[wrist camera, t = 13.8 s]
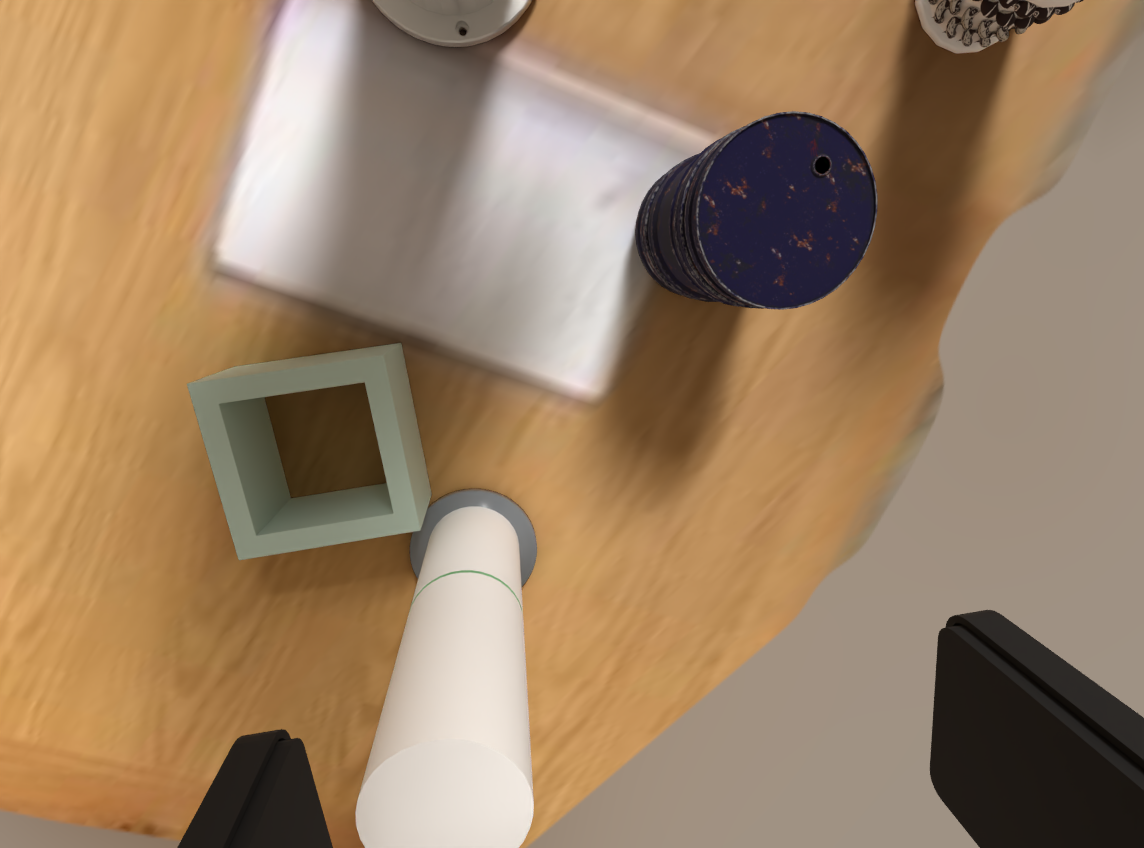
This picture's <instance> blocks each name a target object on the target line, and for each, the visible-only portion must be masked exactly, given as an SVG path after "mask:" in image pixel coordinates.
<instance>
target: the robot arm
mask: <svg viewBox="0 0 1144 848" xmlns="http://www.w3.org/2000/svg"><path fill="white" fill-rule="evenodd" d="M372 1H373V3H374V4H375V5H376V6H377V8H378V9H379V10H380V11H381V13H382V14H383V15H384V16H385V17H387V18H388V19H389V20H390V21H391V22H392V23H393V24H395V25H396V26H397V27H398V28H400V29H401V30H403V31H405V32H406V33H408V34H410V35H411V36H413V37H415V38H417V39H420V40H422V41H425V42H428V43H431V44H433V45H440V46H447V47H465V46H472V45H476V44H480V43H483V42H487V41H489V40H491V39H493V38H495V37H496V36H498V35H500V34H502V33H504V32H505V31H506V30H507V29H508V28H510V27H511V26H512V25H513V24H514V23H516V22H517V21H518V20H519V18H520V17H521V16H522V14H523V13H524V12H525V11H526V9H527V8H528V7H529V5H530V3H531V1H532V0H372ZM462 29H463V30H466V31H467V34H466V35H465V36H461V35H460V34H459V32H460V30H462ZM930 775H931V780H932V783H933V785H934V788H935V790H936V792H937V794H938V795H939V797H940V798H941V799H942V801H943V802H944V803H945V805H946V806H947V807H948V808H949V810H950V811H951V812H952V814H953V815H954V816H955V817H956V819H957V820H958V821H959V822H960V824H961V825H962V826H963V827H964V828H965V830H966V831H967V832H968V833H969V835H970V836H971V837H972V838H973V840H974V841H975V842H976V843H977V845H978V846H979V847H980V848H1144V718H1143V717H1142V716H1140V715H1139V714H1138V713H1136V712H1135V711H1134V710H1132V709H1131V708H1129V707H1128V706H1127V705H1125V704H1124V703H1122V702H1121V701H1120V700H1118V699H1117V698H1116V697H1114V696H1113V695H1111V694H1110V693H1109V692H1107V691H1106V690H1104V689H1103V688H1102V687H1100V686H1099V685H1098V684H1096V683H1095V682H1094V681H1092V680H1091V679H1089V678H1088V677H1087V676H1085V675H1084V674H1082V673H1081V672H1080V671H1078V670H1077V669H1076V668H1074V667H1073V666H1071V665H1070V664H1068V663H1067V662H1066V661H1065V660H1063V659H1062V658H1060V657H1059V656H1058V655H1056V654H1055V653H1054V652H1052V651H1051V650H1049V649H1048V648H1046V647H1045V646H1044V645H1042V644H1041V643H1040V642H1038V641H1037V640H1035V639H1034V638H1033V637H1031V636H1030V635H1029V634H1027V633H1026V632H1025V631H1023V630H1022V629H1020V628H1019V627H1018V626H1016V625H1015V624H1013V623H1012V622H1011V621H1009V620H1008V619H1006V618H1005V617H1004V616H1002V615H1001V614H999V613H997V612H995V611H992V610H984V611H978V612H973V613H966V614H960V615H955V616H952V617H950V618H949V619H948V621H947V623H946V628H943V629H941V631H940V632H939V635H938V647H937V663H936V680H935V696H934V711H933V727H932V743H931V759H930ZM178 848H333V847H332V843H331V840H330V836H329V832H328V829H327V825H326V822H325V818H324V815H323V811H322V807H321V804H320V800H319V797H318V793H317V790H316V786H315V783H314V779H313V775H312V772H311V768H310V765H309V761H308V758H307V754H306V751H305V747H304V744H303V742H302V740H301V739H300V738H295V739H291V738H290V736H289V733H288V732H287V731H286V730H282V729H281V730H275V731H269V732H263V733H257V734H251V735H245V736H241V737H240V738H238V739H237V740H236V741H235V743H234V744H233V746H232V748H231V749H230V751H229V753H228V755H227V757H226V759H225V760H224V762H223V764H222V766H221V768H220V770H219V772H218V773H217V775H216V777H215V779H214V781H213V783H212V785H211V786H210V788H209V790H208V792H207V794H206V796H205V798H204V799H203V801H202V803H201V805H200V807H199V809H198V811H197V812H196V814H195V816H194V818H193V820H192V822H191V823H190V825H189V827H188V829H187V831H186V833H185V835H184V836H183V838H182V840H181V842H180V844H179V846H178Z"/></svg>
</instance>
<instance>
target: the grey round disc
mask: <svg viewBox="0 0 1144 848" xmlns="http://www.w3.org/2000/svg"><path fill="white" fill-rule="evenodd" d="M469 506H479V507H485V508H488V509H491V510H494V511H496V512H498V513H499V514H501V515H503V516H504V517H505V518H506V519H507V520H508V521H509V522H510V523H511V525H512V526H513V528H514V529H515V532H516V534H517V536H518V542H519V553H520V570H521V587H522V586H523V585H524V584H525V582H526V581H527V579H528V578H529V576H530V574H531V572H532V570H533V568H534V565H535V561H536V556H537V544H536V536H535V531H534V528H533V525H532V523H531V521H530V519H529V517H528V516H527V514H526V513H525V512H524V510H523V509H522V508H521V507H520V506H519V505H518V504H517V503H515V502H514V501H513V500H511V499H510V498H508V497H506V496H505V495H502V494H500V493H498V492H494V491H491V490H486V489H474V488H472V489H463V490H458V491H454V492H452V493H449V494H446V495H445V496H443V497H441V498H439V499H438V500H436V501H435V502H433V503H432V504H431V505H430V506H429V507H428V508H427V511H426V514H425V518H424V521H423V524H422V527H421V530H420V531H414V532H413V534H412V537H411V542H410V559H411V564H412V567H413V570H414V573H415V575H416V577H417V578H419V575H420V571H421V567H422V564H423V560H424V556H425V553H426V549H427V546H428V542H429V538H430V536H431V533H432V531H433V529H434V527H435V526H436V525H437V523H438V522H439V521H440V520H441V519H442V518H443V517H444V516H446V515H447V514H449V513H450V512H452V511H455V510H457V509H460V508H464V507H469Z"/></svg>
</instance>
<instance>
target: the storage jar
mask: <svg viewBox="0 0 1144 848" xmlns="http://www.w3.org/2000/svg"><path fill="white" fill-rule="evenodd" d="M876 216H877V190H876V182H875V178H874V175H873V171H872V168H871V166H870V163H869V161H868V159H867V157H866V155H865V153H864V151H863V150H862V149H861V147H860V146H859V144H858V143H857V141H856V140H855V139H854V138H853V137H852V136H851V135H850V134H849V133H848V132H847V131H846V130H844V129H843V128H842V127H840V126H839V125H838V124H836V123H835V122H833V121H831V120H828V119H826V118H824V117H822V116H819V115H815V114H811V113H806V112H795V111H793V112H782V113H776V114H773V115H769V116H765V117H763V118H761V119H758V120H756V121H754V122H752V123H750V124H748V125H747V126H744V127H742V128H739V129H737V130H735V131H733V132H731V133H729V134H728V135H726V136H724V137H723V138H721V139H719V140H717V141H716V142H714V143H713V144H711V145H710V146H708V147H707V148H706V149H704V150H703V151H702V152H701V153H700V154H697V155H694V156H692V157H690V158H688V159H686V160H684V161H682V162H681V163H679V164H678V165H676V166H675V167H673V168H672V169H670V170H669V171H668V172H667V173H666V174H665V175H663V176H662V177H661V178H660V179H659V180H658V181H656V182H655V183H654V185H653V186H652V187H651V188H650V190H649V191H648V192H647V194H646V196H645V198H644V200H643V201H642V204H641V207H640V209H639V212H638V217H637V221H636V244H637V248H638V253H639V256H640V258H641V261H642V263H643V265H644V266H645V268H646V270H647V272H648V273H649V274H650V275H651V276H652V278H653V279H654V280H655V281H656V282H657V283H659V284H660V285H661V286H662V287H664V288H666V289H667V290H669V291H671V292H673V293H676V294H678V295H682V296H685V297H688V298H692V299H696V300H701V301H706V302H721V303H724V304H728V305H733V306H741V307H747V308H762V309H763V308H767V309H791V308H798V307H801V306H805V305H808V304H811V303H813V302H815V301H818V300H820V299H822V298H824V297H825V296H827V295H828V294H830V293H831V292H833V291H834V290H836V289H837V288H838V287H839V286H840V285H841V284H842V283H844V282H845V281H846V280H847V279H848V277H849V276H850V275H851V274H852V273H853V272H854V270H855V269H856V268H857V266H858V265H859V263H860V261H861V260H862V258H863V257H864V255H865V253H866V250H867V248H868V246H869V244H870V241H871V238H872V235H873V232H874V228H875V223H876Z"/></svg>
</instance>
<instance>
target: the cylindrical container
mask: <svg viewBox="0 0 1144 848" xmlns="http://www.w3.org/2000/svg"><path fill="white" fill-rule="evenodd" d="M533 806H534V800H533V783H532V765H531V747H530V730H529V712H528V695H527V677H526V659H525V642H524V624H523V606H522V588H521V570H520V553H519V542H518V536H517V534H516V532H515V529H514V528H513V526H512V525H511V523H510V522H509V521H508V520H507V519H506V518H505V517H504V516H503V515H501V514H499V513H498V512H496V511H494V510H491V509H488V508H485V507H479V506H469V507H464V508H460V509H457V510H455V511H452V512H450V513H449V514H447V515H446V516H444V517H443V518H442V519H441V520H440V521H439V522H438V523H437V525H436V526H435V527H434V529H433V531H432V533H431V536H430V538H429V542H428V546H427V549H426V553H425V556H424V560H423V564H422V567H421V571H420V575H419V578H418V582H417V586H416V589H415V593H414V596H413V600H412V604H411V607H410V611H409V615H408V618H407V622H406V626H405V630H404V633H403V637H402V640H401V644H400V648H399V651H398V655H397V658H396V662H395V666H394V669H393V673H392V677H391V680H390V684H389V688H388V691H387V695H386V698H385V702H384V706H383V709H382V713H381V717H380V720H379V724H378V727H377V731H376V735H375V738H374V742H373V746H372V749H371V753H370V757H369V760H368V764H367V767H366V771H365V775H364V778H363V782H362V786H361V789H360V793H359V797H358V801H357V807H356V827H357V830H358V833H359V837H360V840H361V841H362V843H363V845H364V846H365V848H519V846H520V845H521V844H522V843H523V841H524V839H525V837H526V835H527V833H528V831H529V829H530V826H531V822H532V818H533Z"/></svg>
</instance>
